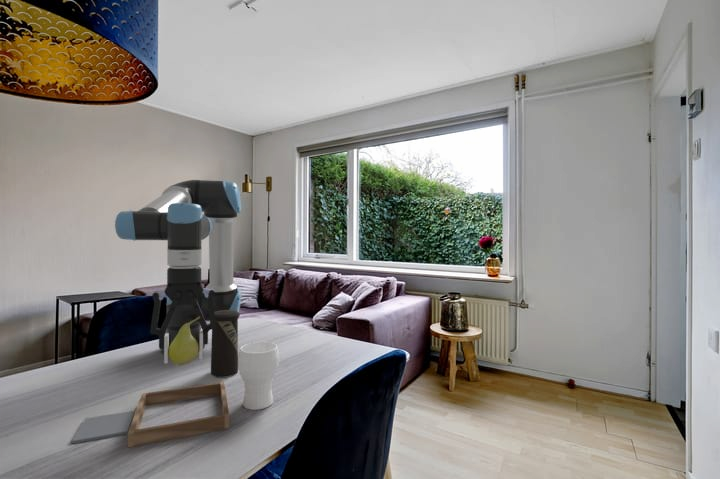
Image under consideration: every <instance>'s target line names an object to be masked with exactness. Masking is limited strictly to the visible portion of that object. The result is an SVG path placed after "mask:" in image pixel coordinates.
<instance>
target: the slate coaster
mask: <svg viewBox="0 0 720 479" xmlns="http://www.w3.org/2000/svg"><path fill="white" fill-rule="evenodd" d="M135 412H136V410H130V411H123V412H117V413H112V414H105V415H99V416H92V417H91V416H90V417H86V418H85V419H84V421H83V422H82V423H81V425H80V427H79V429H77V432H76V433H75V435H74V437H73V438H72V440H71V444H73V443H74V444H78V443H85V442H89V440H90V441H95V439H96V440H100V438H101V439H107V438H112V437H117V435H118V436H122V435H123V434H124V435H128V432H129V429H130V426H131V423H132V421H133V418H134V415H135ZM111 436H112V437H111ZM106 437H107V438H106ZM84 441H85V442H84Z"/></svg>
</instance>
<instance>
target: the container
mask: <svg viewBox="0 0 720 479" xmlns="http://www.w3.org/2000/svg"><path fill="white" fill-rule="evenodd" d="M214 315H215V323H216V328H215V329H211V347H210V348H211V350H210V351H211V353H210V376H212V377H215V378H216V377H217V378H226V377H230V376H234V375H236V374H237V373H238V372H239V369H238V356H239V339H238V338H239V336H238V335H239V333H238V332H239V330H238V329H239V328H238V326H239V324H238V323H239V322H238V320H239V318H240V315H241V314H240V311H239V312H237V311H235V310H221V311H216V312H214Z"/></svg>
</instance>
